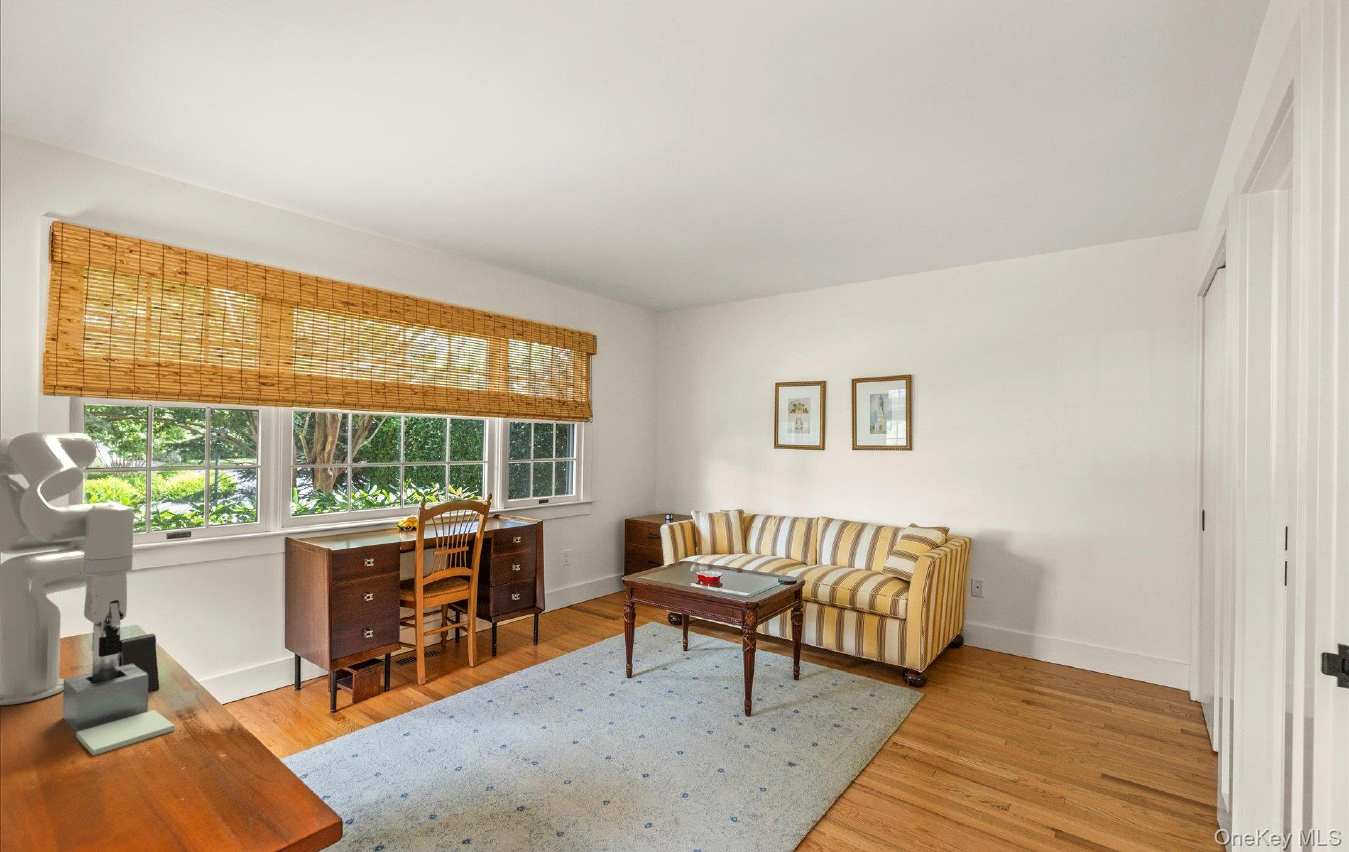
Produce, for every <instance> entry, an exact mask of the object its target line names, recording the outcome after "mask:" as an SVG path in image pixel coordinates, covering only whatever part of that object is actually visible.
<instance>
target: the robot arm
mask: <svg viewBox="0 0 1349 852" xmlns="http://www.w3.org/2000/svg"><path fill="white" fill-rule="evenodd" d="M96 458H97V446H96V445H95V443H94V441H93V440H92V438H91V437H89V436H88V435H87V434H84V433H82V432H81V433H80V432H62V431H61V432H56V431H55V432H53V431H51V432H50V431H47V432H46V431H38V432H37V431H36V432H28V433H23V434H20V435H18V436H15V437H13V438H0V553H1V554H4V555H18V556H15V557H11V558H8V559H6V560H4V561H3V562H2V563H0V706H8V705H9V706H10V705H17V704H24V703H29V702H32V701H38V700H40V699H44V698H47V697H51V696H53V695H56V694H59V693H61V692H63V688H64V679H65V678H61V677H60V659H61V658H60V655H61V654H60V653H61V652H60V651H61V611H60V609H59V607H58V606H57V605H56V604H55V603H54V601H51V600H50V599H49V598H48V597H47V596H48V595H50V594H54V593H58V592H64V591H70V590H75V589H80V588H84V587H85V598H84V610H83V616H84V617H85V619H87V620H88V621H90V622H91V623H93V628H92V631H93V633H92V636H93V635H94V626H95V625H97V624H100V623H101V637H99V656H100V657H104V656H109V655H113V654H118V653H119V652H120V640H121V620H124V619H125V618H126V616H127V610H128V609H127V607H128V606H127V605H128V581H127V580H128V579H127V578H128V577H127V573H128V572H131V571H133V552H134V551H133V550H134V525H135V524H134V522H135V521H134V519H135V518H134V517H135V514H134V510H133V508H132V507H130V506H127V505H117V504H115V503H113V502H94V503H93V502H92V503H78V504H77V503H76V504H66V505H65V504H64V505H50V504H49V502H51V501H54V500H57V499H59V498H61V497H64V496H66V495H68V494H71V493H72V492H74V491H75V490H76V489H77V488H79V487H80V485H81V484H82V483H83V480H84V472H83V471H82V469H84V468H87V467H89V466H90V465H91V464H93V462H94V461H95V459H96ZM10 475H11V476H12V475H13V476H15V475H16V476H17V475H22V476H23V478H24V479H25V480H26V481H27V483H28V484H29V486H28V487H26V486H25V485H24V484H22V483H20V482H19V481H16V479H13V478H11V477H9V476H10ZM106 624H110V625H108V626H107V627H106ZM91 650H92V652H93V644H92V649H91Z"/></svg>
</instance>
